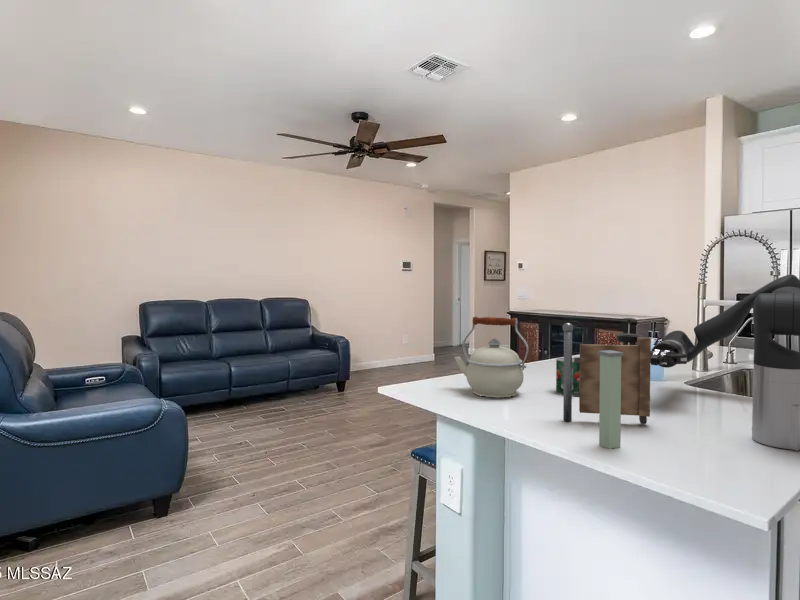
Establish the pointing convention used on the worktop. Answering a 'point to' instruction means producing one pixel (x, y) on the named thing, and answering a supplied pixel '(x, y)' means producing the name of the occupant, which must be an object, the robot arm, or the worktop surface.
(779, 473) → the worktop surface
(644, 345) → the gate
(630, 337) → the french press
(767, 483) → the worktop surface
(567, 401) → the hinge post
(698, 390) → the worktop surface
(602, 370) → the post
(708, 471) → the worktop surface
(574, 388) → the canned tomato
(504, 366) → the kettle
